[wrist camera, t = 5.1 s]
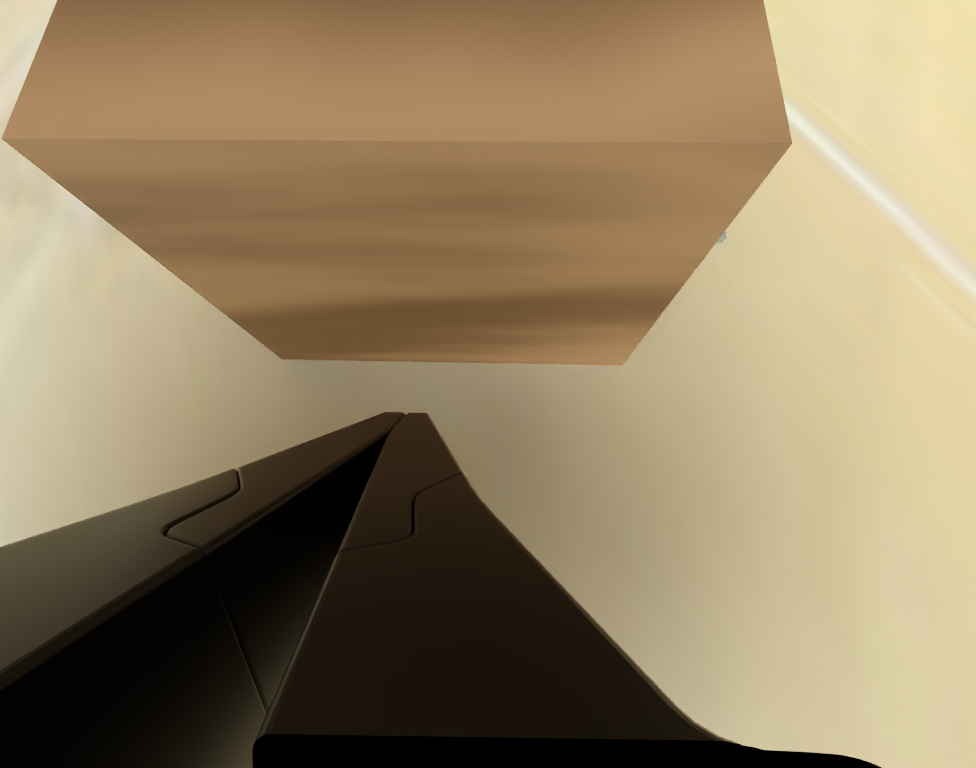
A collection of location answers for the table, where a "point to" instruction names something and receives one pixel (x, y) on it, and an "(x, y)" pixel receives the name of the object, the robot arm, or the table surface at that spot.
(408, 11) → the walnut block
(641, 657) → the table surface
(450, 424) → the table surface
